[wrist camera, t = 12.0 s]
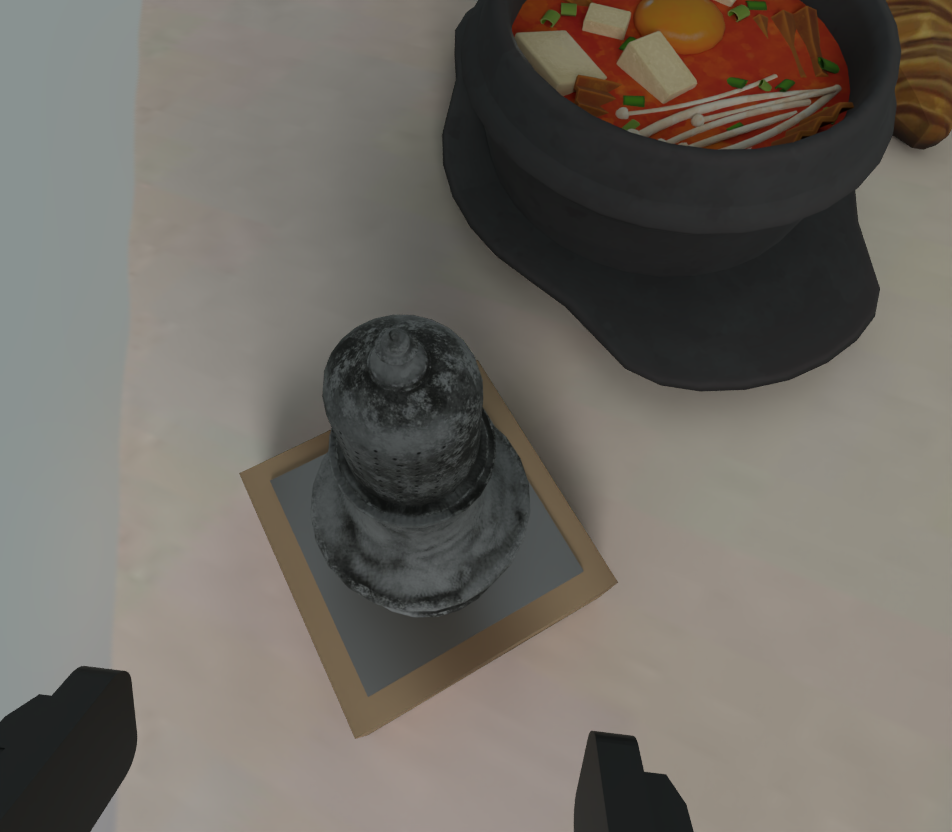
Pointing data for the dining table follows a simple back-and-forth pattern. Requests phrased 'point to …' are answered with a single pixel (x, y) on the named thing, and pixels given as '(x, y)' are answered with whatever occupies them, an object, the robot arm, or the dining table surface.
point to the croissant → (923, 71)
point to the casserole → (680, 171)
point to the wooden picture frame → (423, 638)
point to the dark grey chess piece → (415, 471)
